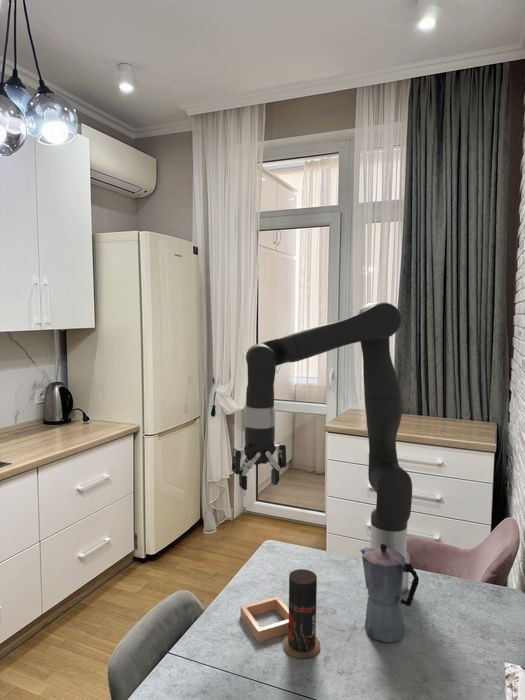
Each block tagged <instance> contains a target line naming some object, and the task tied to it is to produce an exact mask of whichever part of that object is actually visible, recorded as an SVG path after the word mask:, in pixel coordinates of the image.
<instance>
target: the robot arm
mask: <svg viewBox="0 0 525 700" xmlns="http://www.w3.org/2000/svg"><path fill="white" fill-rule="evenodd" d="M401 324H402V315H401V313H400V311H399V309H398V308H397V307H396V306H394V305H393V304H391V303H389V302H385V301H375V302H374V301H373V302H369V303H367V304H365V305H364V306H362V307H361V308H360V310H359V312H358V313H357V314H355V315H353V316H350V317H348V318H345V319H342V320H339V321H335V322H331V323H327V324H321V325H317V326H313V327H309V328H306V329H302V330H300V331H299V330H298V331H296V332H293V333H291V334H288V335H285V336H282V337H280V338H279V337H278V338H275V339H271V340H267V341H263V342H259V343H256V344H254V345H251V346H250V347H249V349H248V350H247V352H246V355H245V361H246V365H247V386H246V394H245V397H246V399H245V412H244V414H245V415H244V447H243V448H236V447H235V448H233V450H232V458H231V472H232V473H234V474H235V475H238V485H239V487H240V488H241V490H243V491H247V490H248V475H247V474H248V473H249V471H250V470H251V469H252V468H253V467H254V465H255V466H258V465H261V464H263V465H265V464H269V465H270V467H271V475H270V476H271V477H270V479H271V482H270V483H271V484H272V485H273V486H277V485H278V483H279V482H280V470H281V469H283V468H286V467H287V465H288V464H287V450H286V449H287V446H286V445H285V444H283V443H282V442H278V443H277V444H275V441H276V439H275V438H276V436H275V435H276V433H275V432H276V411H275V389H274V388H275V386H274V385H275V378H276V369H277V368H276V367H277V366H279V365H282V364H287V363H297V362H300V361H303V360H307V359H309V358H312V357H315V356H318V355H321V354H325V353H326V352H329V351H333V350H335V349H337V348H341V347H344V346H348V345H352V344H356V343H360V348H361V353H362V369H363V370H362V374H363V390H364V391H363V393H364V394H363V396H364V407H365V408H364V410H365V417H366V428H367V438H368V471H367V473H368V474H367V475H368V482H369V485H370V487H371V489H372V490H374V492H375V493H376V502H375V503H376V504H375V505H376V507H375V508H374V509H373V510H372V511H371V514H370V542H369V544H370V545H369V548H379V547H380V544H385V545H387V549H391V550H396V551H397V552H399V553H400V554H401V555H403V556H404V557H405V562H406V563H407V564H410V554H409V552H408V551H407V545H408V544H407V543H408V522H409V519H410V517H411V513H412V502H413V501H412V500H413V482H412V478H411V476H410V475H409V473H408V471H406V470H405V469H404V468H402V467H401V466H400V464H399V460H398V452H397V435H398V431H399V429H400V424H401V421H402V415H403V414H402V413H403V405H402V392H401V386H400V382H399V379H398V375H397V372H396V369H395V367H394V364H393V360H392V355H391V350H390V337H392V336H393V335H395V334H396V333H397V332H398V331H399V329H400V327H401ZM275 452H276V453H277V461H276V459H275V457H274V456H273V455H274V454H275ZM243 455H244V456H245V457H244V458H243ZM242 458H243V461H242V464H241V459H242ZM409 574H410V572H404V573H403V582H402V589H401V592H400V596H402V595H403V594H404V593H405V592H406V590H409Z"/></svg>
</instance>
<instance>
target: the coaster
mask: <svg viewBox="0 0 525 700" xmlns="http://www.w3.org/2000/svg"><path fill="white" fill-rule="evenodd" d="M282 647H283V650H284V652H285V653H286V654H287V655H288V656H289V657H291V658H295V659H298V660H309V659H312V658H315V657H317V655H318V654H319V653H320V650H321V641H320V640H319V639H318V637H317V636H316V644H315V647H314V649H313V650H311V651H309V652H297V651H295V650H293V649H292V648H291V647H290V646H289V644H288V634H287V635H285V637H284V638H283V643H282Z"/></svg>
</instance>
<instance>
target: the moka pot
mask: <svg viewBox="0 0 525 700" xmlns="http://www.w3.org/2000/svg"><path fill="white" fill-rule="evenodd" d="M359 551H360V552H361V554H362V557H361V559H362V565H363V573H364V580H365V588H366V589H367V595H368V596H367V603H366V610H365V611H366V612H365V621H364V630H365V631H366V633H367V635H369V636H370V637H371V638H372V639H374V640H377V641H379V642H383V643H393V642H395V643H396V642H397V641H401V640H403V638H404V637H405V634H406V626H405V621H404V614H403V606H402V605H404V606H406V607H411V606H412V603H413V600H414V596H415V593H416V591H417V588H418V585H419V580H420V577H419V576H418V574H417V571H416V570H415V569H414V567H413V564H412V563H409V564H407V563H406V562H405V557H404V556H403V555H401V554H400V553H399V552H397V551H396V550H391V549H387V545H385V544H380V547H379V548H370V547H366V546H365V547H364V548H361V549H360V550H359ZM404 572H409V574H411V575H412V577H413V579H412V581H411V586H410V588H409V592H408V596H407V597H406V599H404V598H401V595H400V592H401V589H402V582H403V573H404Z"/></svg>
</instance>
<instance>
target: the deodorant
mask: <svg viewBox="0 0 525 700" xmlns="http://www.w3.org/2000/svg"><path fill="white" fill-rule="evenodd" d="M317 581H318V576H317V574H316V573H315V572H313V571H312V570H309V569H306V568H305V569H303V568H298V569H294V570H293V571H291V572H290V573H289V575H288V608H289V622H288V633H287V635H288V644H289V646H290V647H291V648H292V649H293V650H295V651H297V652H309V651H311V650H313V649H314V647H315V644H316V637H317V636H316V635H317V634H316V633H317V631H316V629H317V593H318V590H317V589H318V588H317V587H318V585H317V584H318V582H317Z"/></svg>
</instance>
